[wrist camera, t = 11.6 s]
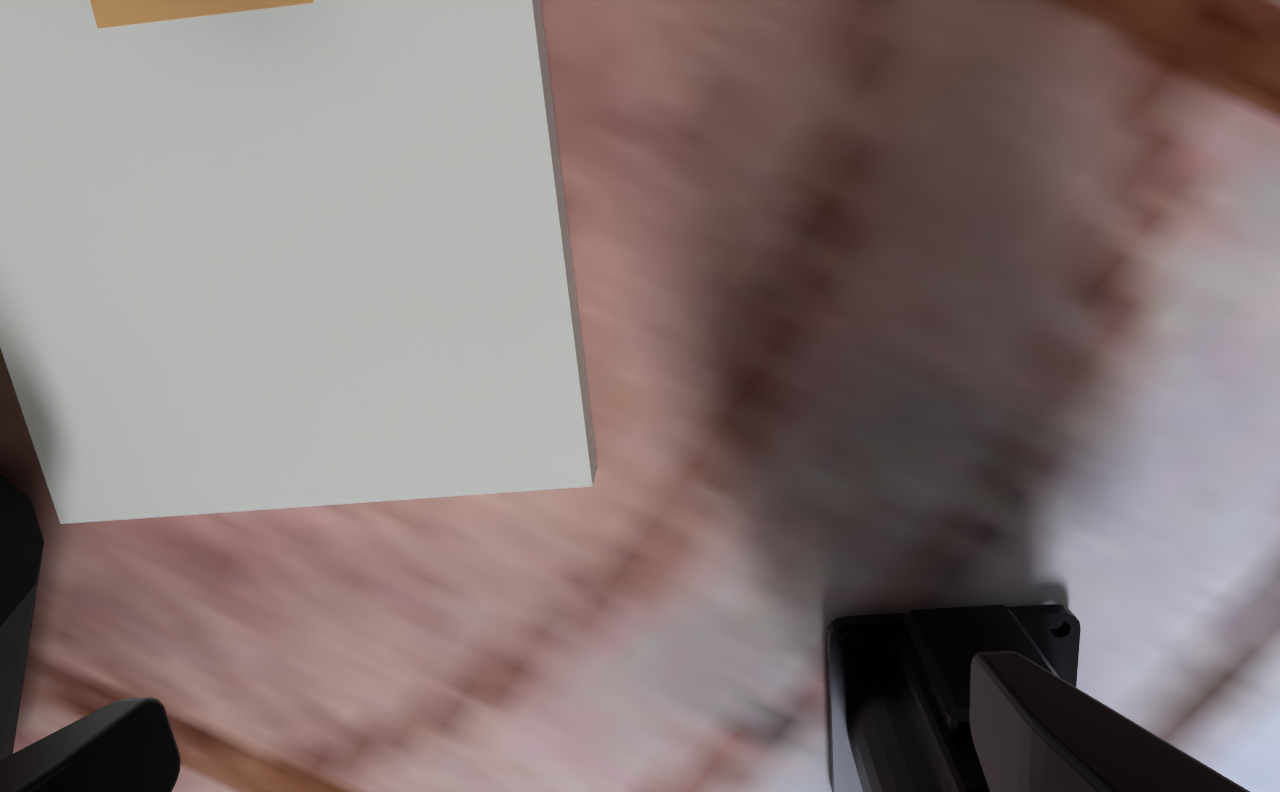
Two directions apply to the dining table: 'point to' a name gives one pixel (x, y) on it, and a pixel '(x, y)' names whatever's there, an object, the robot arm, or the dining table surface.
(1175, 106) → the dining table surface
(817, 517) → the dining table surface
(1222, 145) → the dining table surface
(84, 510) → the board
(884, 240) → the dining table surface
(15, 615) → the striped bottle lying down
